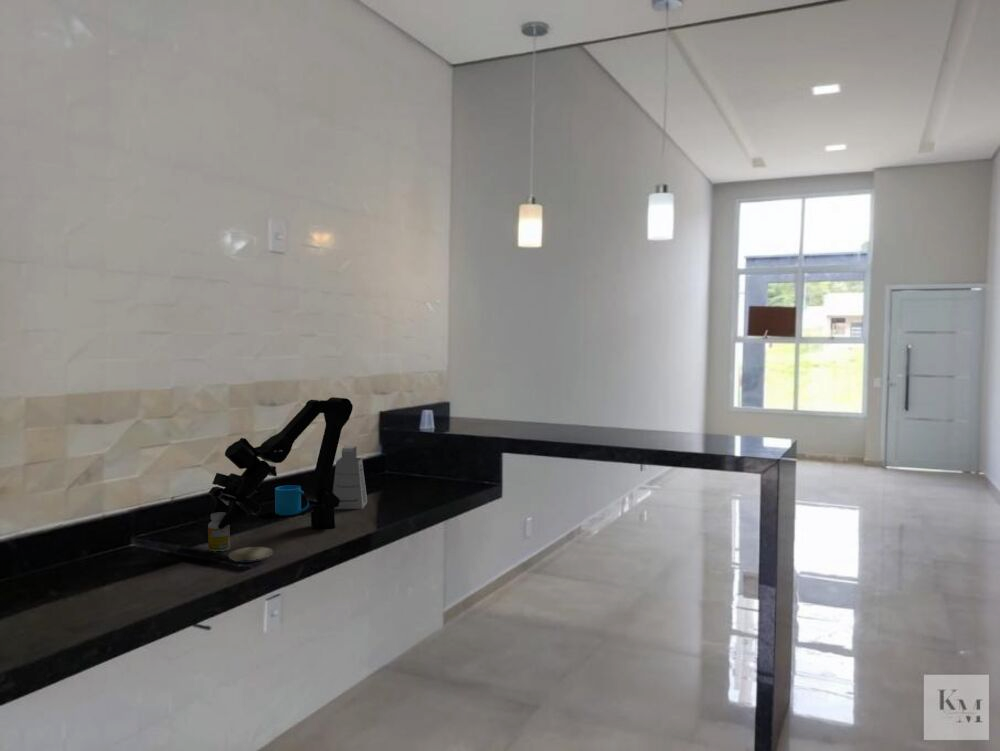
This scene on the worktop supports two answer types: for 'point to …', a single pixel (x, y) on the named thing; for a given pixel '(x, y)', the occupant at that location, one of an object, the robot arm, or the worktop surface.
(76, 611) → the worktop surface
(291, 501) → the mug
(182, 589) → the worktop surface
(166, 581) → the worktop surface
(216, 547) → the supplement bottle
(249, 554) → the oak coaster
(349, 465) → the grater
